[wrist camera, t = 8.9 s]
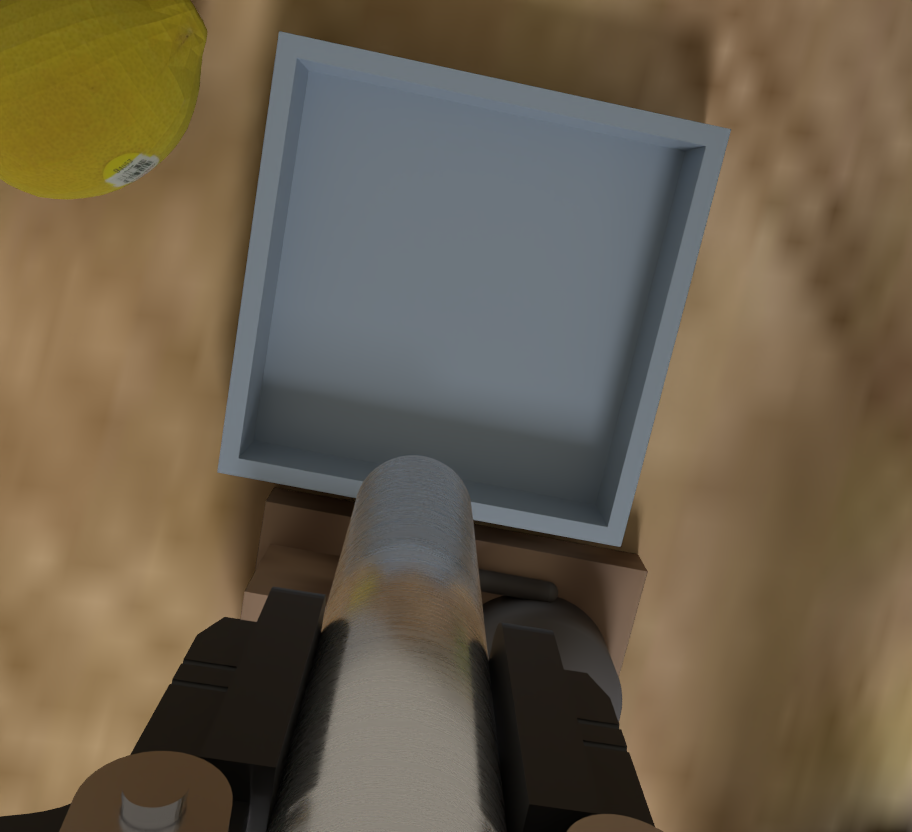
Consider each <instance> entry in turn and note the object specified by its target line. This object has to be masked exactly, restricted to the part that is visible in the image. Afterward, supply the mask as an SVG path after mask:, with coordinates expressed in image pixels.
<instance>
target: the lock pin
mask: <svg viewBox="0 0 912 832" xmlns="http://www.w3.org/2000/svg"><path fill="white" fill-rule="evenodd" d="M267 832H507V826H506V816H505V807H504V798H503V789H502V780H501V771H500V762H499V753H498V743H497V734H496V725H495V716H494V707H493V698H492V689H491V680H490V670H489V661H488V651H487V642H486V633H485V624H484V615H483V606H482V597H481V588H480V579H479V570H478V560H477V551H476V542H475V533H474V524H473V515H472V506H471V499H470V496H469V492H468V490H467V488H466V486H465V484H464V482H463V481H462V479H461V478H460V477H459V476H458V474H457V473H456V472H455V471H453V470H452V469H451V468H450V467H448V466H447V465H446V464H444V463H442V462H440V461H438V460H435V459H433V458H429V457H425V456H418V455H407V456H401V457H397V458H393V459H391V460H388V461H386V462H384V463H383V464H381V465H379V466H378V467H377V468H375V469H374V470H373V471H372V472H371V473H370V474H369V475H368V476H367V477H366V479H365V480H364V481H363V483H362V485H361V487H360V489H359V492H358V494H357V498H356V501H355V505H354V508H353V512H352V516H351V519H350V523H349V526H348V530H347V534H346V537H345V541H344V544H343V548H342V552H341V555H340V559H339V562H338V566H337V569H336V573H335V577H334V580H333V584H332V587H331V591H330V595H329V598H328V602H327V605H326V609H325V613H324V618H323V625H322V631H321V635H320V639H319V643H318V646H317V650H316V654H315V657H314V661H313V665H312V668H311V672H310V676H309V679H308V683H307V687H306V690H305V694H304V698H303V701H302V705H301V709H300V712H299V716H298V720H297V723H296V727H295V731H294V734H293V738H292V742H291V745H290V749H289V753H288V757H287V760H286V764H285V768H284V771H283V775H282V779H281V782H280V786H279V790H278V793H277V797H276V801H275V804H274V808H273V812H272V815H271V819H270V823H269V826H268V830H267Z"/></svg>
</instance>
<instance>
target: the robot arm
mask: <svg viewBox="0 0 912 832" xmlns="http://www.w3.org/2000/svg"><path fill="white" fill-rule="evenodd" d="M325 605H326V595H325V594H318V593H312V592H305V591H299V590H293V589H286V588H280V587H272V588H271V590H270V592H269V595H268V597H267V599H266V602H265V604H264V606H263V609H262V611H261V613H260V616H259V618H258V620H257V622H254V621H248V620H241V619H235V618H228V617H224V618H222V619H221V620H219V621H218V622H216V623H215V624H213V625H212V626H210V627H208V628H207V629H205V630H204V631H202V632H201V633H199V634H198V635H197V636H196V638H195V640H194V642H193V643H192V645H191V647H190V649H189V651H188V652H187V654H186V656H185V658H184V661H183V664H181V665H180V667H179V668H178V670H177V672H176V674H175V676H174V677H173V680H172V684H170V685H169V686H168V688H167V690H166V692H165V694H164V695H163V697H162V699H161V701H160V703H159V704H158V706H157V708H156V710H155V712H154V713H153V715H152V717H151V719H150V720H149V722H148V724H147V726H146V728H145V729H144V731H143V733H142V735H141V737H140V738H139V740H138V742H137V744H136V746H135V747H134V749H133V751H132V753H131V755H129V756H126V757H123V758H120V759H117V760H115V761H113V762H110V763H108V764H106V765H105V766H103V767H101V768H100V769H98V770H97V771H95V772H94V773H93V774H92V775H90V776H89V777H88V778H87V779H86V780H85V781H84V782H83V784H82V785H81V786H80V787H79V789H78V791H77V792H76V794H75V796H74V798H73V800H72V803H71V804H69V805H66V806H63V807H60V808H56V809H52V810H48V811H43V812H37V813H30V814H21V815H12V816H2V817H0V832H267V830H268V826H269V823H270V819H271V815H272V812H273V808H274V804H275V801H276V797H277V793H278V790H279V786H280V782H281V779H282V775H283V771H284V768H285V764H286V760H287V757H288V753H289V749H290V745H291V742H292V738H293V734H294V731H295V727H296V723H297V720H298V716H299V712H300V709H301V705H302V701H303V698H304V694H305V690H306V687H307V683H308V679H309V676H310V672H311V668H312V665H313V661H314V657H315V654H316V650H317V646H318V643H319V639H320V635H321V631H322V625H323V618H324V612H325ZM489 670H490V680H491V689H492V698H493V707H494V716H495V725H496V734H497V743H498V753H499V762H500V771H501V780H502V789H503V798H504V807H505V816H506V826H507V832H663V831H661V830H660V829H658V828H656V827H655V826H654V823H653V820H652V817H651V814H650V811H649V808H648V805H647V803H646V800H645V797H644V794H643V791H642V788H641V785H640V782H639V780H638V777H637V774H636V771H635V768H634V765H633V762H632V759H631V756H630V754H629V752H627V745H626V742H625V739H624V736H623V733H622V731H621V730H620V729H619V722H618V719H617V716H616V713H615V710H614V707H613V705H612V702H611V699H610V697H609V696H608V695H607V694H606V693H605V692H604V691H603V690H602V688H601V687H600V686H599V685H598V684H597V683H596V682H595V681H594V680H593V679H592V678H591V677H590V675H589V674H588V673H584V672H578V671H571V670H565V669H564V668H563V665H562V661H561V657H560V653H559V650H558V646H557V642H556V639H555V635H554V632H553V631H552V630H546V629H540V628H534V627H527V626H521V625H514V624H508V623H502V622H500V623H499V624H498V625H497V628H496V631H495V634H494V638H493V642H492V647H491V651H490V656H489Z"/></svg>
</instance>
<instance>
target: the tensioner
mask: <svg viewBox="0 0 912 832" xmlns="http://www.w3.org/2000/svg"><path fill="white" fill-rule="evenodd" d="M354 505H355V502H351V501H345V500H340V499H334V498H329V497H324V496H318V495H313V494H307V493H302V492H297V491H291V490H286V489H280V488H274V489H273V491H272V492H271V494H270V495H269V497H268V499H267V500H266V503H265V509H264V516H263V522H262V529H261V535H260V542H259V548H258V554H257V561H256V567H255V573H254V575H253V577H252V579H251V581H250V583H249V584H248V586H247V588H246V590H245V593H244V599H243V606H242V612H241V620H248V621H254V622H257V620H258V618H259V616H260V613H261V611H262V609H263V606H264V604H265V602H266V599H267V597H268V595H269V592H270V590H271V588H272V587H280V588H286V589H293V590H299V591H305V592H312V593H318V594H325V595H326V605H327V602H328V598H329V595H330V591H331V587H332V584H333V580H334V577H335V573H336V569H337V566H338V562H339V559H340V555H341V552H342V548H343V544H344V541H345V537H346V534H347V530H348V526H349V523H350V519H351V516H352V512H353V508H354ZM474 533H475V542H476V551H477V560H478V570H479V579H480V588H481V597H482V606H483V615H484V624H485V633H486V642H487V651H488V661H489V656H490V651H491V647H492V642H493V638H494V634H495V631H496V628H497V625H498V624H499V623H500V622H502V623H508V624H514V625H521V626H527V627H534V628H540V629H546V630H552V631H553V632H554V635H555V639H556V642H557V646H558V650H559V653H560V657H561V661H562V665H563V668H564V669H565V670H571V671H578V672H584V673H588V674H589V675H590V677H591V678H592V679H593V680H594V681H595V682H596V683H597V684H598V685H599V686H600V687H601V688H602V690H603V691H604V692H605V693H606V694H607V695H608V696H609V697H610V699H611V702H612V705H613V707H614V710H615V713H616V716H617V719H618V722H619V719H620V714H621V709H622V691H621V685H620V681H619V675H620V671H621V667H622V664H623V660H624V656H625V653H626V649H627V645H628V642H629V638H630V634H631V631H632V627H633V623H634V620H635V616H636V613H637V609H638V605H639V602H640V598H641V594H642V591H643V587H644V583H645V580H646V576H647V572H648V571H647V569H646V568H645V566H644V564H643V562H642V561H641V559H640V557H639V555H638V554H632V553H627V552H621V551H616V550H610V549H605V548H600V547H594V546H589V545H583V544H578V543H573V542H567V541H562V540H556V539H551V538H546V537H540V536H535V535H529V534H524V533H518V532H513V531H508V530H502V529H497V528H491V527H486V526H481V525H475V524H474ZM326 605H325V609H326ZM324 613H325V612H324Z"/></svg>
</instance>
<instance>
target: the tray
mask: <svg viewBox="0 0 912 832" xmlns="http://www.w3.org/2000/svg"><path fill="white" fill-rule="evenodd" d="M730 131H731V129H727V128H722V127H718V126H713V125H709V124H704V123H699V122H695V121H690V120H686V119H681V118H676V117H672V116H667V115H663V114H658V113H653V112H649V111H644V110H640V109H635V108H630V107H626V106H621V105H617V104H612V103H607V102H603V101H598V100H594V99H589V98H584V97H580V96H575V95H571V94H566V93H561V92H557V91H552V90H548V89H543V88H538V87H534V86H529V85H525V84H520V83H515V82H511V81H506V80H502V79H497V78H492V77H488V76H483V75H479V74H474V73H469V72H465V71H460V70H455V69H451V68H446V67H442V66H437V65H432V64H428V63H423V62H419V61H414V60H409V59H405V58H400V57H396V56H391V55H386V54H382V53H377V52H373V51H368V50H363V49H359V48H354V47H350V46H345V45H340V44H336V43H331V42H327V41H322V40H317V39H313V38H308V37H304V36H299V35H294V34H290V33H285V32H281V31H279V36H278V43H277V50H276V57H275V64H274V72H273V79H272V86H271V93H270V100H269V107H268V115H267V122H266V129H265V136H264V143H263V150H262V157H261V165H260V172H259V179H258V186H257V193H256V200H255V207H254V215H253V222H252V229H251V236H250V243H249V250H248V258H247V265H246V272H245V279H244V286H243V293H242V300H241V308H240V315H239V322H238V329H237V336H236V343H235V350H234V358H233V365H232V372H231V379H230V386H229V393H228V401H227V408H226V415H225V422H224V429H223V436H222V443H221V451H220V458H219V465H218V473H224V474H229V475H234V476H240V477H245V478H251V479H256V480H261V481H267V482H272V483H278V484H283V485H289V486H294V487H299V488H305V489H310V490H316V491H321V492H326V493H332V494H337V495H343V496H348V497H353V498H357V494H358V492H359V489H360V487H361V485H362V483H363V481H364V480H365V479H366V477H367V476H368V475H369V474H370V473H371V472H372V471H373V470H374V469H375V468H377V467H378V466H379V465H381V464H383V463H384V462H386V461H388V460H391V459H393V458H397V457H401V456H407V455H418V456H425V457H429V458H433V459H435V460H438V461H440V462H442V463H444V464H446V465H447V466H448V467H450V468H451V469H452V470H453V471H455V472H456V473H457V474H458V476H459V477H460V478H461V479H462V481H463V482H464V484H465V486H466V488H467V490H468V492H469V496H470V499H471V506H472V515H473V520H478V521H483V522H488V523H494V524H499V525H505V526H510V527H515V528H521V529H526V530H532V531H537V532H542V533H548V534H553V535H559V536H564V537H569V538H575V539H580V540H586V541H591V542H596V543H602V544H607V545H613V546H618V547H621V544H622V540H623V537H624V533H625V529H626V525H627V521H628V518H629V514H630V510H631V506H632V502H633V499H634V495H635V491H636V487H637V484H638V480H639V476H640V472H641V468H642V465H643V461H644V457H645V453H646V449H647V446H648V442H649V438H650V434H651V431H652V427H653V423H654V419H655V415H656V412H657V408H658V404H659V400H660V396H661V393H662V389H663V385H664V381H665V378H666V374H667V370H668V366H669V362H670V359H671V355H672V351H673V347H674V343H675V340H676V336H677V332H678V328H679V325H680V321H681V317H682V313H683V309H684V306H685V302H686V298H687V294H688V290H689V287H690V283H691V279H692V275H693V272H694V268H695V264H696V260H697V256H698V253H699V249H700V245H701V241H702V237H703V234H704V230H705V226H706V222H707V219H708V215H709V211H710V207H711V203H712V200H713V196H714V192H715V188H716V184H717V181H718V177H719V173H720V169H721V166H722V162H723V158H724V154H725V150H726V147H727V143H728V139H729V135H730Z"/></svg>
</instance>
